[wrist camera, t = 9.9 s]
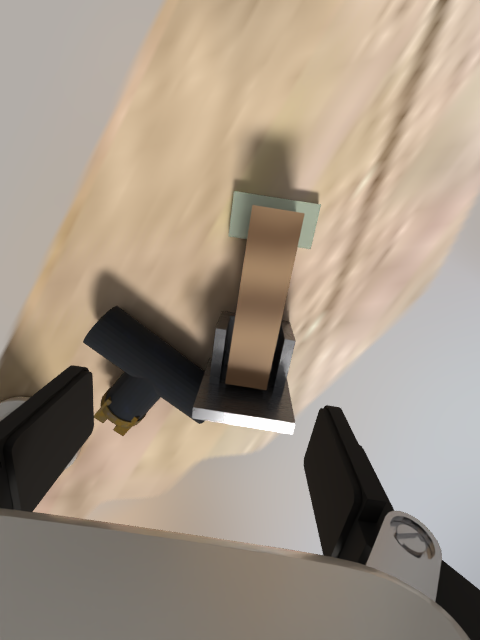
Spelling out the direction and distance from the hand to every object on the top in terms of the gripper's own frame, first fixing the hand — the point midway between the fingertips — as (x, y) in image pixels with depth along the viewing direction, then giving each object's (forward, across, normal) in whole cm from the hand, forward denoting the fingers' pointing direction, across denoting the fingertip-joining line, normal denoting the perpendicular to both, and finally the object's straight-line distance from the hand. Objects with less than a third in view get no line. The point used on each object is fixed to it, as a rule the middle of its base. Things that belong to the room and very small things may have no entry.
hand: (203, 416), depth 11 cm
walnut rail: (+18, -3, -1) cm, 19 cm away
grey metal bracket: (+19, -3, +6) cm, 20 cm away
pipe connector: (+20, +9, +12) cm, 25 cm away
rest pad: (+19, -3, -8) cm, 21 cm away
